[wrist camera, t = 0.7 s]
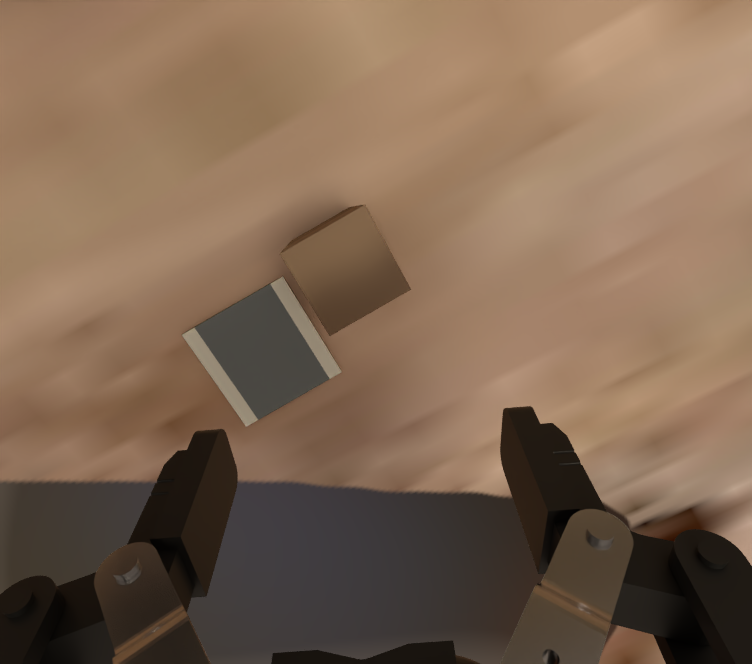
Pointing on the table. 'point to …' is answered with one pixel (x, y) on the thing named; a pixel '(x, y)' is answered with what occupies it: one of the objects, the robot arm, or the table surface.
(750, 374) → the table surface
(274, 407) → the mat
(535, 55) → the table surface
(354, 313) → the block
